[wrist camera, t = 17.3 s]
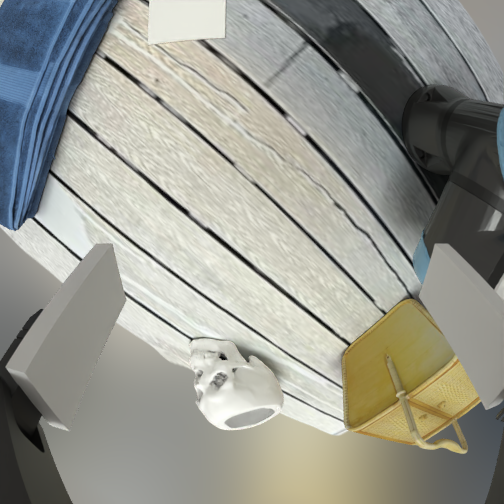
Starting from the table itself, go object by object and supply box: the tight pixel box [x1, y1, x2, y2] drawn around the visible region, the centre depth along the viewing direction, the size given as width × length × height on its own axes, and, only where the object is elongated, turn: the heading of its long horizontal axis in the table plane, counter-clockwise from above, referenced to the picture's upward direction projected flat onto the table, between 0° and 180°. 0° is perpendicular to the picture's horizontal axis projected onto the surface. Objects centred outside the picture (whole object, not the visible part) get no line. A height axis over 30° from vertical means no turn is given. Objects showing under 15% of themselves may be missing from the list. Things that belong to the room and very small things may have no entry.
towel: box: [0, 0, 118, 231], centre depth 31 cm, size 24×43×10 cm, turn 150°
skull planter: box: [189, 338, 284, 430], centre depth 59 cm, size 14×20×19 cm
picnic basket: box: [342, 299, 481, 453], centre depth 50 cm, size 29×26×30 cm
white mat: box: [148, 0, 226, 45], centre depth 31 cm, size 11×11×1 cm
